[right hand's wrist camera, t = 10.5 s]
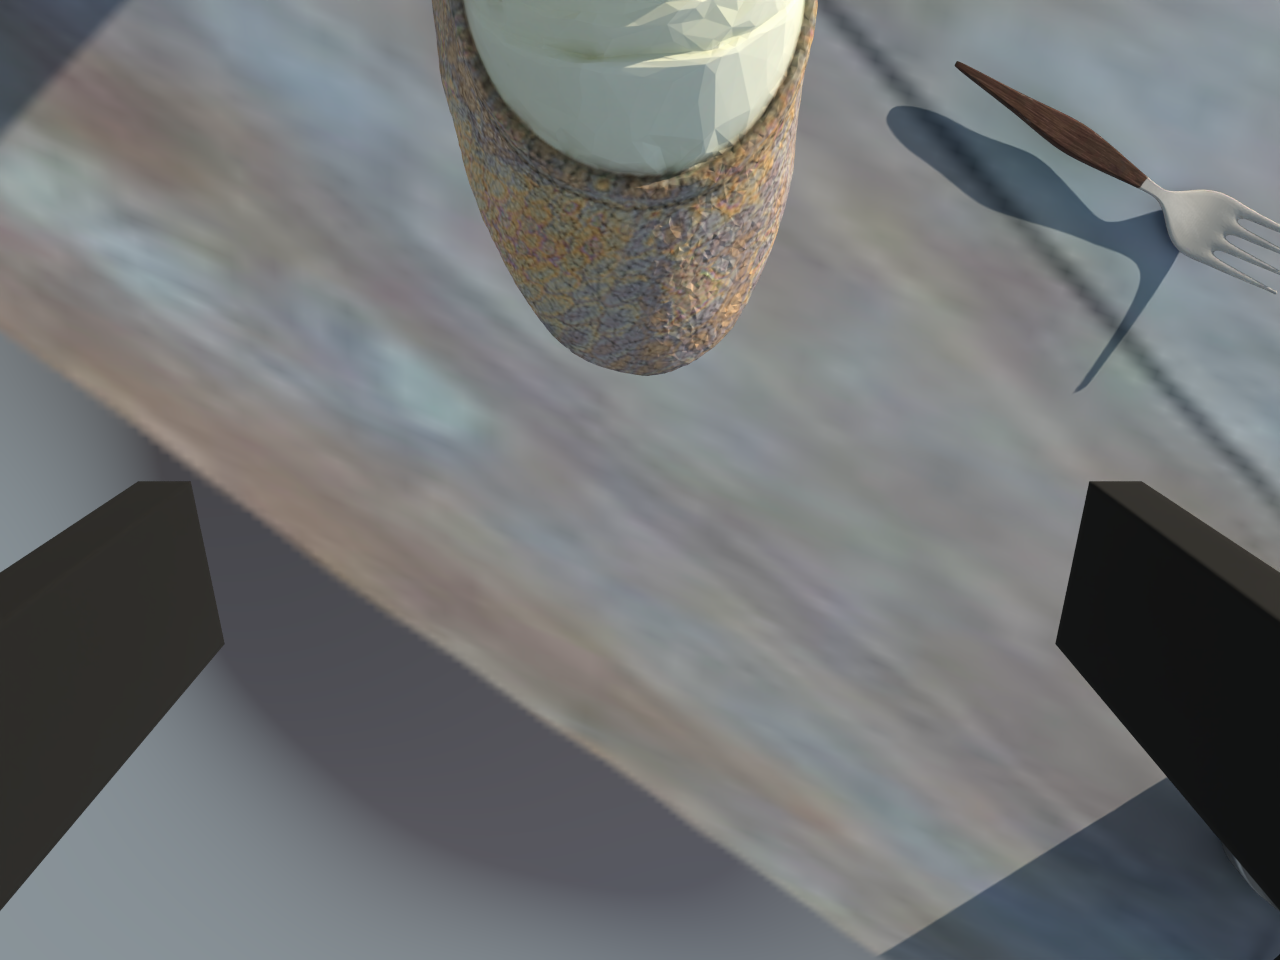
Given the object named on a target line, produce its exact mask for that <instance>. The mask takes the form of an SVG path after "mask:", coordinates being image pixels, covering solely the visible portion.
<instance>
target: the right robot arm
mask: <svg viewBox="0 0 1280 960" xmlns="http://www.w3.org/2000/svg"><path fill="white" fill-rule="evenodd" d="M223 645H224V639H223V634H222V629H221V625H220V620H219V615H218V610H217V605H216V601H215V596H214V591H213V586H212V582H211V577H210V572H209V567H208V562H207V558H206V553H205V548H204V543H203V538H202V534H201V529H200V524H199V519H198V514H197V510H196V505H195V500H194V495H193V490H192V486H191V482H190V481H138V482H137V483H135V484H134V485H132V486H131V487H129V488H128V489H126V490H125V491H123V492H122V493H120V494H118V495H117V496H115V497H114V498H113V499H111V500H109V501H108V502H106V503H105V504H103V505H102V506H100V507H99V508H97V509H96V510H94V511H93V512H91V513H90V514H88V515H87V516H85V517H84V518H82V519H81V520H79V521H78V522H76V523H75V524H73V525H72V526H70V527H69V528H67V529H66V530H64V531H63V532H61V533H60V534H58V535H57V536H55V537H53V538H52V539H50V540H49V541H47V542H46V543H44V544H43V545H41V546H40V547H38V548H37V549H35V550H34V551H32V552H31V553H29V554H28V555H26V556H25V557H23V558H22V559H20V560H19V561H17V562H16V563H14V564H13V565H11V566H10V567H8V568H7V569H5V570H4V571H2V572H1V573H0V910H1V909H2V908H3V907H4V906H5V904H6V903H7V902H8V901H9V900H10V898H11V897H12V896H13V895H14V894H15V893H16V891H17V890H18V889H19V888H20V887H21V885H22V884H23V883H24V882H25V881H26V879H27V878H28V877H29V876H30V875H31V874H32V872H33V871H34V870H35V869H36V868H37V866H38V865H39V864H40V863H41V862H42V860H43V859H44V858H45V857H46V856H47V855H48V853H49V852H50V851H51V850H52V848H53V847H54V846H55V845H56V844H57V843H58V841H59V840H60V839H61V838H62V837H63V835H64V834H65V833H66V832H67V831H68V830H69V828H70V827H71V826H72V825H73V824H74V822H75V821H76V820H77V819H78V818H79V816H80V815H81V814H82V813H83V812H84V810H85V809H86V808H87V807H88V806H89V804H90V803H91V802H92V801H93V800H94V799H95V797H96V796H97V795H98V794H99V793H100V791H101V790H102V789H103V788H104V787H105V785H106V784H107V783H108V782H109V781H110V780H111V778H112V777H113V776H114V775H115V774H116V772H117V771H118V770H119V769H120V768H121V766H122V765H123V764H124V763H125V762H126V760H127V759H128V758H129V757H130V756H131V755H132V753H133V752H134V751H135V750H136V749H137V747H138V746H139V745H140V744H141V743H142V741H143V740H144V739H145V738H146V737H147V735H148V734H149V733H150V732H151V731H152V730H153V728H154V727H155V726H156V725H157V724H158V722H159V721H160V720H161V719H162V718H163V716H164V715H165V714H166V713H167V712H168V710H169V709H170V708H171V707H172V706H173V705H174V703H175V702H176V701H177V700H178V699H179V697H180V696H181V695H182V694H183V693H184V692H185V690H186V689H187V688H188V687H189V686H190V684H191V683H192V682H193V681H194V680H195V678H196V677H197V676H198V675H199V674H200V672H201V671H202V670H203V669H204V668H205V667H206V665H207V664H208V663H209V662H210V661H211V659H212V658H213V657H214V656H215V655H216V653H217V652H218V651H219V650H220V649H221V647H222V646H223ZM1056 645H1057V646H1058V647H1059V649H1060V650H1061V651H1062V652H1063V653H1064V655H1065V656H1066V657H1067V658H1068V659H1069V661H1070V662H1071V663H1072V664H1073V665H1074V667H1075V668H1076V669H1077V670H1078V671H1079V672H1080V674H1081V675H1082V676H1083V677H1084V678H1085V680H1086V681H1087V682H1088V683H1089V684H1090V686H1091V687H1092V688H1093V689H1094V690H1095V692H1096V693H1097V694H1098V695H1099V696H1100V697H1101V699H1102V700H1103V701H1104V702H1105V703H1106V705H1107V706H1108V707H1109V708H1110V709H1111V711H1112V712H1113V713H1114V714H1115V715H1116V716H1117V718H1118V719H1119V720H1120V721H1121V722H1122V724H1123V725H1124V726H1125V727H1126V728H1127V730H1128V731H1129V732H1130V733H1131V734H1132V736H1133V737H1134V738H1135V739H1136V740H1137V741H1138V743H1139V744H1140V745H1141V746H1142V747H1143V749H1144V750H1145V751H1146V752H1147V753H1148V755H1149V756H1150V757H1151V758H1152V759H1153V761H1154V762H1155V763H1156V764H1157V765H1158V766H1159V768H1160V769H1161V770H1162V771H1163V772H1164V774H1165V775H1166V776H1167V777H1168V778H1169V780H1170V781H1171V782H1172V783H1173V784H1174V786H1175V787H1176V788H1177V789H1178V790H1179V791H1180V793H1181V794H1182V795H1183V796H1184V797H1185V799H1186V800H1187V801H1188V802H1189V803H1190V805H1191V806H1192V807H1193V808H1194V809H1195V810H1196V812H1197V813H1198V814H1199V815H1200V816H1201V818H1202V819H1203V820H1204V821H1205V822H1206V824H1207V825H1208V826H1209V827H1210V828H1211V830H1212V831H1213V832H1214V833H1215V834H1216V835H1217V837H1218V838H1219V839H1220V840H1221V843H1222V846H1223V848H1224V851H1225V853H1226V855H1227V857H1228V858H1229V860H1230V861H1231V863H1232V864H1233V865H1234V867H1235V868H1236V869H1237V870H1238V872H1239V873H1240V874H1241V875H1242V876H1243V878H1244V879H1245V880H1246V881H1247V882H1248V884H1249V885H1250V886H1251V887H1252V888H1253V889H1254V890H1255V891H1256V892H1257V893H1258V894H1259V895H1260V896H1261V897H1262V898H1264V899H1265V900H1266V901H1267V902H1268V903H1269V904H1271V905H1272V906H1273V907H1274V908H1276V909H1277V910H1278V911H1280V573H1279V572H1278V571H1276V570H1275V569H1273V568H1272V567H1270V566H1269V565H1267V564H1266V563H1264V562H1263V561H1261V560H1260V559H1258V558H1257V557H1255V556H1254V555H1252V554H1251V553H1249V552H1248V551H1246V550H1245V549H1243V548H1242V547H1240V546H1239V545H1237V544H1236V543H1234V542H1233V541H1231V540H1230V539H1228V538H1227V537H1225V536H1224V535H1222V534H1220V533H1219V532H1217V531H1216V530H1214V529H1213V528H1211V527H1210V526H1208V525H1207V524H1205V523H1204V522H1202V521H1201V520H1199V519H1198V518H1196V517H1195V516H1193V515H1192V514H1190V513H1189V512H1187V511H1186V510H1184V509H1183V508H1181V507H1180V506H1178V505H1177V504H1175V503H1174V502H1172V501H1171V500H1169V499H1168V498H1166V497H1165V496H1163V495H1162V494H1160V493H1159V492H1157V491H1155V490H1154V489H1152V488H1151V487H1149V486H1148V485H1146V484H1145V483H1143V482H1142V481H1089V486H1088V490H1087V495H1086V500H1085V505H1084V510H1083V514H1082V519H1081V524H1080V529H1079V534H1078V538H1077V543H1076V548H1075V553H1074V558H1073V562H1072V567H1071V572H1070V577H1069V581H1068V586H1067V591H1066V596H1065V601H1064V605H1063V610H1062V615H1061V620H1060V625H1059V629H1058V634H1057V639H1056ZM1274 960H1280V955H1279V956H1277V957H1276V958H1275V959H1274Z"/></svg>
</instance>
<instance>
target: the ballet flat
mask: <svg viewBox="0 0 1280 960" xmlns="http://www.w3.org/2000/svg"><path fill="white" fill-rule="evenodd" d="M432 6H433V14H434V22H435V28H436V36H437V48H438V55H439V67H440V74H441V79H442V84H443V88H444V91H445V95H446V98H447V102H448V105H449V109H450V113H451V115H452V118H453V122H454V126H455V130H456V133H457V137H458V141H459V146H460V149H461V151H462V159H463V162H464V166H465V170H466V173H467V176H468V180H469V183H470V186H471V188H472V191H473V193H474V196H475V198H476V201H477V204H478V207H479V210H480V213H481V216H482V218H483V221H484V222H485V224H486V226H487V228H488V229H489V232H490V235H491V237H492V239H493V241H494V242H495V244H496V247H497V248H498V250H499V252H500V254H501V257H502V259H503V261H504V263H505V265H506V267H507V269H508V270H509V272H510V274H511V276H512V277H513V279H514V281H515V284H516V285H517V287H518V288H519V290H520V291H521V293H522V294H523V296H524V297H525V299H526V300H527V302H528V304H529V305H530V306H531V308H532V309H533V311H534V312H535V314H536V315H537V316H538V318H539V319H540V321H541V322H542V323H543V324H544V325H545V327H546V328H547V329H548V330H549V332H550V333H551V334H552V335H553V336H554V337H555V338H556V339H557V340H558V341H559V342H560V343H561V344H563V345H564V346H565V347H566V348H569V349H570V351H571V352H572V353H574V354H576V355H578V356H579V357H581V358H583V359H584V360H586V361H588V362H591V363H593V364H595V365H598V366H601V367H604V368H608V369H611V370H615V371H619V372H623V373H630V374H636V375H642V376H649V375H657V374H663V373H667V372H671V371H673V370H676V369H678V368H680V367H682V366H685V365H688V364H690V363H691V362H692V361H694V360H697V359H698V358H699V357H701V356H702V355H704V354H705V353H706V352H708V351H709V350H710V349H712V348H713V347H715V346H716V345H717V344H718V343H719V342H720V341H721V340H722V339H723V338H724V337H725V335H726V334H727V333H728V332H729V331H730V330H731V329H732V328H733V326H734V324H735V323H736V321H737V319H738V317H739V316H740V314H741V312H742V310H743V309H744V307H745V306H746V304H747V302H748V300H749V298H750V296H751V294H752V292H753V290H754V288H755V285H756V284H757V282H758V280H759V278H760V275H761V273H762V270H763V268H764V266H765V264H766V261H767V259H768V257H769V254H770V252H771V250H772V246H773V243H774V240H775V238H776V235H777V231H778V228H779V225H780V222H781V219H782V216H783V212H784V209H785V205H786V201H787V197H788V193H789V188H790V184H791V179H792V174H793V166H794V155H795V138H796V130H797V122H798V112H799V106H800V101H801V92H802V84H803V78H804V72H805V68H806V65H807V62H808V57H809V53H810V47H811V43H812V40H813V37H814V29H815V22H816V14H817V6H818V5H817V0H432Z"/></svg>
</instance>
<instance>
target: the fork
mask: <svg viewBox="0 0 1280 960" xmlns="http://www.w3.org/2000/svg"><path fill="white" fill-rule="evenodd" d="M955 67H956V68H958V69H959V70H960V71H961V72H962V73H964V74H965V75H966V76H967V77H969V78H970V79H971V80H972V81H974V82H975V83H976V84H977V85H979V86H980V87H981V88H983V89H984V90H985V91H986V92H988V93H989V94H990V95H992V96H993V97H994V98H996V99H997V100H998V101H999V102H1001V103H1002V104H1003V105H1004V106H1006V107H1007V108H1008V109H1010V110H1011V111H1012V112H1013V113H1014V114H1016V115H1017V116H1018V117H1019V118H1021V119H1022V120H1023V121H1024V122H1025V123H1027V124H1028V125H1029V126H1030V127H1031V128H1032V129H1034V130H1035V131H1036V132H1037V133H1038V134H1040V135H1041V136H1042V137H1043V138H1045V139H1046V140H1047V141H1048V142H1050V143H1051V144H1052V145H1054V146H1055V147H1056V148H1058V149H1059V150H1061V151H1062V152H1064V153H1066V154H1067V155H1069V156H1071V157H1073V158H1075V159H1077V160H1079V161H1081V162H1083V163H1085V164H1087V165H1089V166H1091V167H1093V168H1095V169H1097V170H1100V171H1102V172H1104V173H1106V174H1108V175H1110V176H1113V177H1115V178H1117V179H1119V180H1121V181H1124V182H1126V183H1128V184H1130V185H1132V186H1134V187H1137V188H1139V189H1141V190H1143V191H1145V192H1147V193H1148V194H1150V195H1152V196H1153V197H1154V198H1155V199H1156V200H1157V201H1158V202H1159V203H1160V205H1161V208H1162V211H1163V214H1164V219H1165V223H1166V228H1167V231H1168V234H1169V237H1170V239H1171V241H1172V243H1173V244H1174V246H1175V247H1176V248H1177V249H1178V250H1179V251H1180V252H1181V253H1183V254H1184V255H1186V256H1188V257H1190V258H1192V259H1194V260H1197V261H1199V262H1201V263H1204V264H1206V265H1209V266H1211V267H1213V268H1215V269H1218V270H1220V271H1222V272H1224V273H1227V274H1229V275H1231V276H1234V277H1236V278H1238V279H1241V280H1243V281H1246V282H1248V283H1250V284H1253V285H1255V286H1258V287H1260V288H1263V289H1265V290H1267V291H1270V292H1272V293H1274V294H1277V291H1275V290H1273V289H1271V288H1269V287H1267V286H1265V285H1263V284H1261V283H1260V282H1258V281H1256V280H1254V279H1253V278H1251V277H1249V276H1247V275H1245V274H1244V273H1242V272H1240V271H1238V270H1237V269H1235V268H1233V267H1231V266H1229V265H1228V264H1226V263H1224V262H1222V261H1221V260H1219V259H1218V258H1216V257H1215V256H1214V254H1213V252H1214V251H1217V250H1218V251H1223V252H1226V253H1228V254H1231V255H1233V256H1236V257H1238V258H1240V259H1243V260H1245V261H1247V262H1250V263H1252V264H1255V265H1257V266H1260V267H1262V268H1264V269H1267V270H1269V271H1272V272H1274V273H1277V274H1280V271H1279V270H1277V269H1275V268H1274V267H1272V266H1270V265H1268V264H1266V263H1265V262H1263V261H1261V260H1259V259H1257V258H1256V257H1254V256H1252V255H1250V254H1248V253H1247V252H1245V251H1243V250H1241V249H1239V248H1237V247H1236V246H1234V245H1233V244H1231V243H1230V242H1228V241H1227V240H1226V238H1225V237H1226V235H1234V236H1237V237H1240V238H1243V239H1245V240H1247V241H1250V242H1252V243H1255V244H1257V245H1259V246H1262V247H1264V248H1267V249H1269V250H1272V251H1274V252H1277V253H1279V254H1280V248H1279V247H1277V246H1275V245H1274V244H1272V243H1270V242H1268V241H1266V240H1264V239H1263V238H1261V237H1259V236H1257V235H1255V234H1253V233H1252V232H1250V231H1248V230H1246V229H1245V228H1243V227H1242V226H1240V225H1239V224H1238V219H1247V220H1250V221H1253V222H1255V223H1258V224H1260V225H1262V226H1265V227H1267V228H1270V229H1272V230H1275V231H1277V232H1280V225H1279V224H1277V223H1276V222H1274V221H1272V220H1270V219H1268V218H1266V217H1264V216H1262V215H1261V214H1259V213H1257V212H1255V211H1253V210H1252V209H1250V208H1248V207H1247V206H1245V205H1243V204H1242V203H1240V202H1238V201H1237V200H1235V199H1233V198H1232V197H1230V196H1228V195H1226V194H1223V193H1220V192H1217V191H1212V190H1190V191H1168V190H1165V189H1163V188H1161V187H1160V186H1158V185H1157V184H1155V183H1154V182H1153V181H1152V180H1150V179H1149V178H1148V177H1147V176H1146V175H1145V174H1143V173H1142V172H1141V171H1140V170H1139V169H1138V168H1136V167H1135V166H1134V165H1133V164H1132V163H1131V162H1130V161H1129V160H1127V159H1126V158H1125V157H1124V156H1123V155H1122V154H1121V153H1119V152H1118V151H1117V150H1116V149H1115V148H1114V147H1113V146H1111V145H1110V144H1109V143H1108V142H1107V141H1105V140H1104V139H1103V138H1102V137H1100V136H1099V135H1098V134H1097V133H1095V132H1094V131H1093V130H1091V129H1090V128H1088V127H1087V126H1085V125H1084V124H1082V123H1081V122H1079V121H1077V120H1075V119H1073V118H1072V117H1070V116H1068V115H1066V114H1064V113H1062V112H1060V111H1057V110H1055V109H1053V108H1051V107H1049V106H1047V105H1045V104H1043V103H1040V102H1038V101H1036V100H1034V99H1032V98H1030V97H1028V96H1026V95H1024V94H1022V93H1020V92H1018V91H1016V90H1014V89H1012V88H1010V87H1008V86H1006V85H1004V84H1002V83H1000V82H998V81H996V80H994V79H993V78H991V77H989V76H987V75H985V74H983V73H981V72H979V71H977V70H975V69H973V68H971V67H969V66H967V65H965V64H963V63H961V62H958V61H957V62H956V64H955Z"/></svg>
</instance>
